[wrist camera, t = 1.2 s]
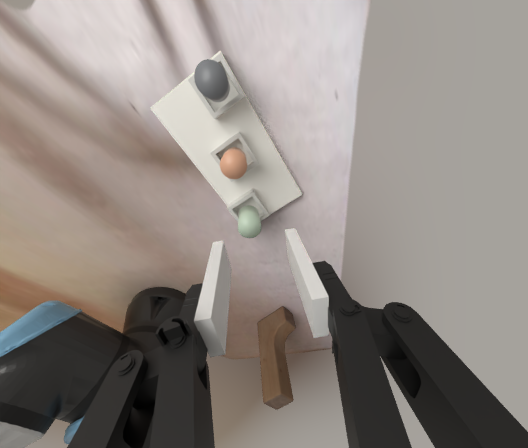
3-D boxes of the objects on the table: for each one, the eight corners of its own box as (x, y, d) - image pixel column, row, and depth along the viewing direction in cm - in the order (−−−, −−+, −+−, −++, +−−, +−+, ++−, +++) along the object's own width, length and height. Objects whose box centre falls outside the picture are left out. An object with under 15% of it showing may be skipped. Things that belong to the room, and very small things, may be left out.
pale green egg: (246, 227, 37) (246, 241, 33) (234, 212, 36) (233, 225, 31) (262, 217, 36) (265, 230, 32) (251, 201, 35) (252, 213, 30)
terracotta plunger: (232, 175, 33) (230, 184, 28) (218, 156, 31) (214, 161, 27) (250, 163, 32) (252, 169, 28) (237, 142, 31) (236, 146, 26)
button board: (245, 226, 42) (246, 234, 39) (153, 108, 31) (144, 107, 28) (300, 192, 40) (305, 198, 37) (221, 53, 29) (218, 45, 26)
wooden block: (282, 305, 53) (299, 384, 37) (292, 313, 55) (313, 392, 39) (256, 322, 55) (262, 404, 39) (267, 329, 57) (276, 410, 41)
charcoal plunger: (213, 107, 28) (208, 105, 24) (196, 81, 27) (187, 73, 22) (235, 91, 28) (233, 85, 23) (218, 63, 26) (213, 51, 22)
